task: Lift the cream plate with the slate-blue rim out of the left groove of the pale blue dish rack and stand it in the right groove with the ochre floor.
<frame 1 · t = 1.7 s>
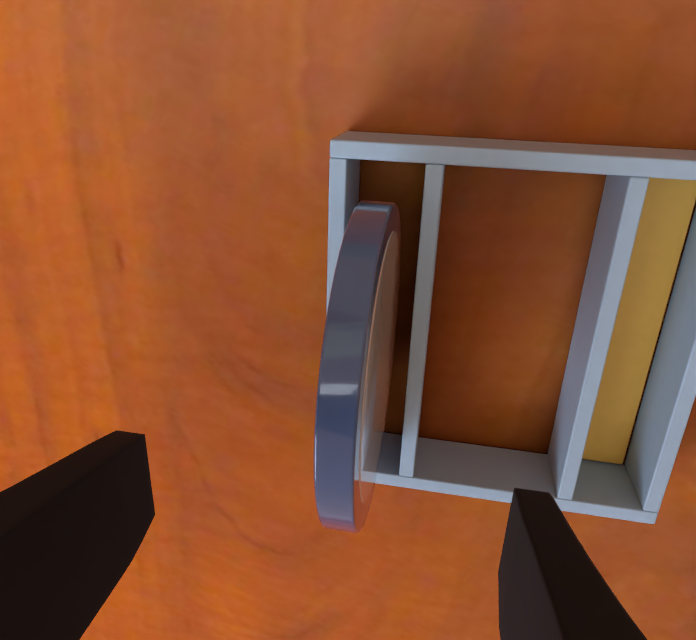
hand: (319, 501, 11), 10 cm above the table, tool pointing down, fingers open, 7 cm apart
plate: (385, 305, 20), resting in rack
rack: (501, 316, 20), on the table
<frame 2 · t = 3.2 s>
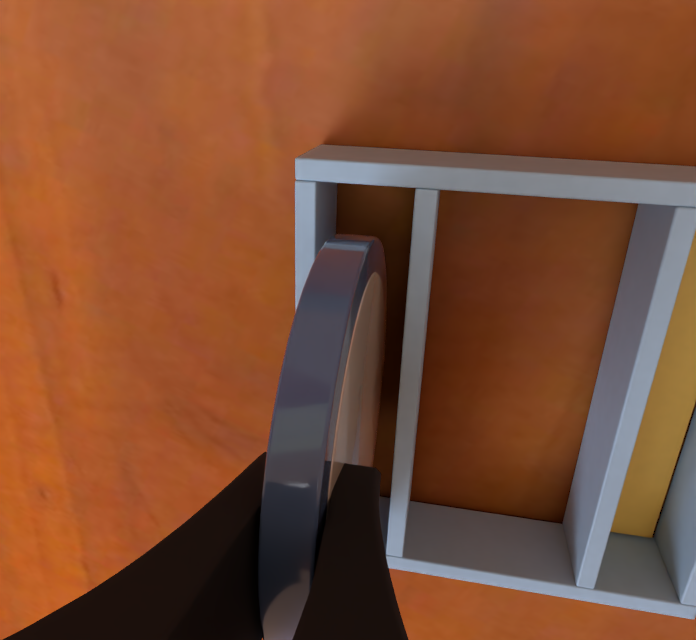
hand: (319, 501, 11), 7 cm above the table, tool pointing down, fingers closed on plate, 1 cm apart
plate: (369, 350, 17), resting in rack, touching gripper
rack: (508, 366, 17), on the table
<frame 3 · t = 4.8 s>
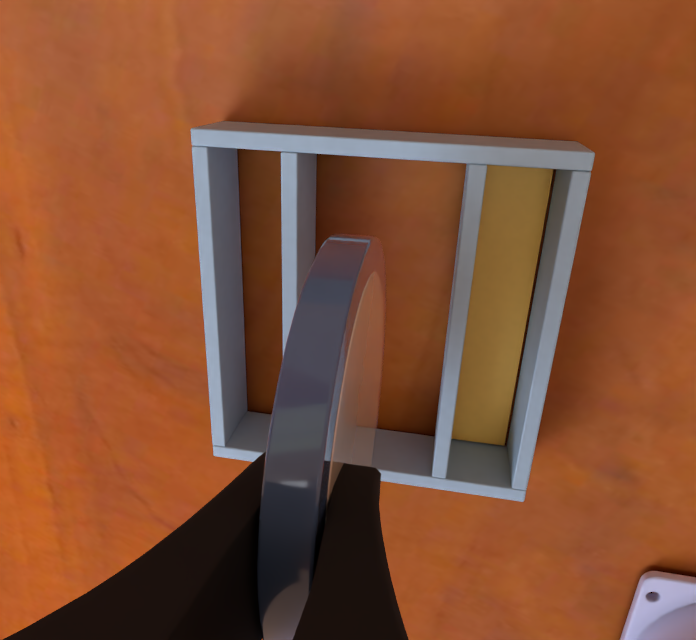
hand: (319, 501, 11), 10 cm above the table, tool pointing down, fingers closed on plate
plate: (369, 350, 17), point 4 cm above the table, touching gripper
rack: (381, 301, 20), on the table
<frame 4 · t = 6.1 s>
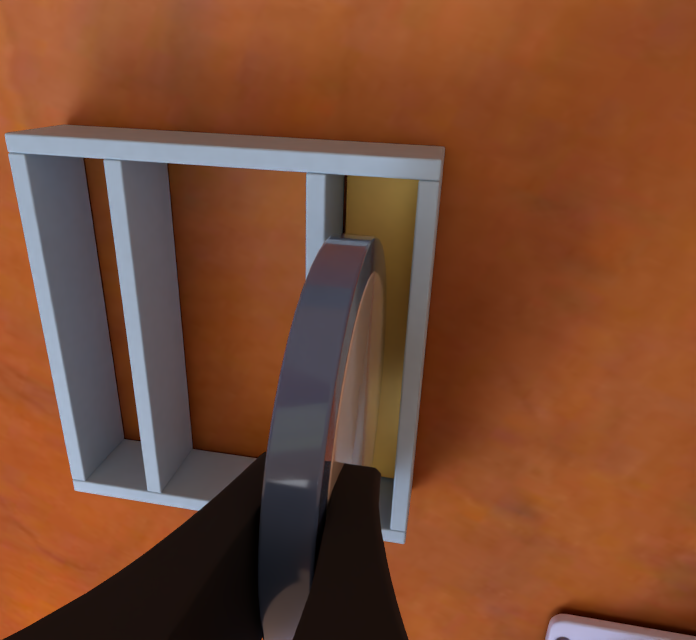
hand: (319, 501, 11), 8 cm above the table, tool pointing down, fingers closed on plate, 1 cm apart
plate: (369, 350, 17), point 1 cm above the table, touching gripper
rack: (251, 322, 19), on the table
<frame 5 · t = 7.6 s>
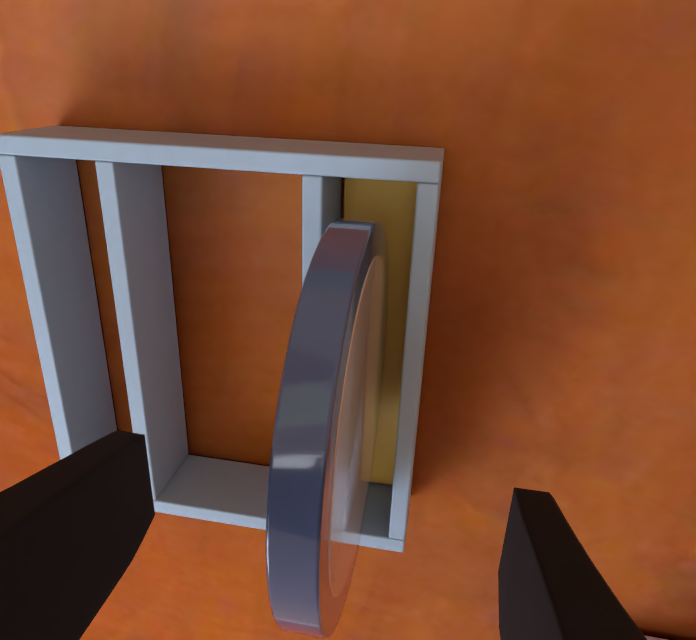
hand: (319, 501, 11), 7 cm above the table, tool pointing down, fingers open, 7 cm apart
plate: (371, 342, 18), resting on rack
rack: (247, 326, 18), on the table
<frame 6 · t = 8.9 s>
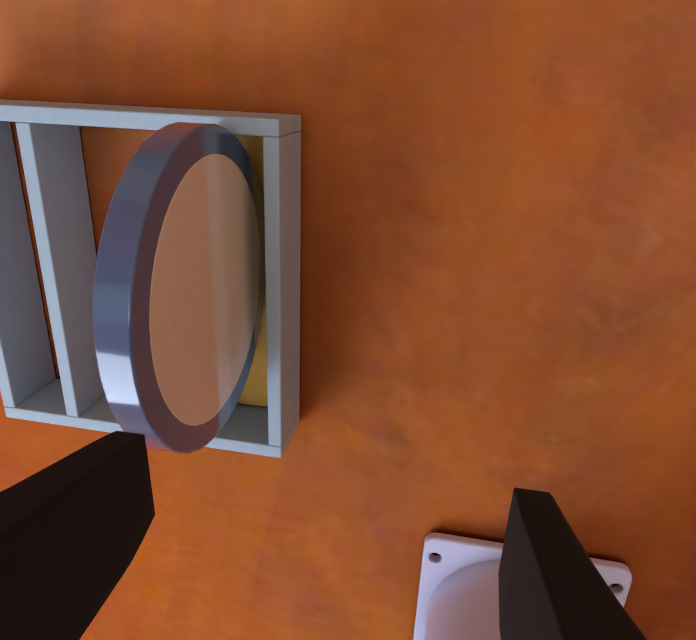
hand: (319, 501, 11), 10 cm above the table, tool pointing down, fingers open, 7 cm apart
plate: (254, 282, 21), resting on rack, tilted 16°
rack: (156, 270, 22), on the table
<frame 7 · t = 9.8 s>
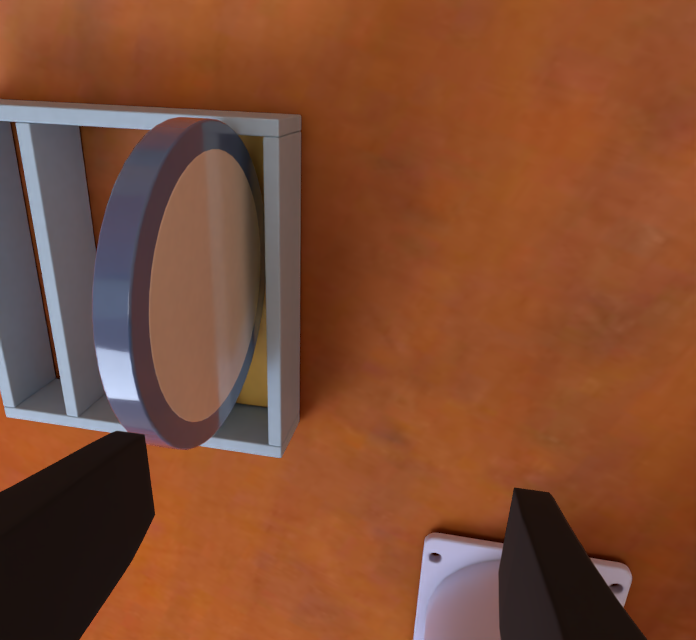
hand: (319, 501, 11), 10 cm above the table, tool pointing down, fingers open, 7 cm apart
plate: (253, 282, 21), resting on rack, tilted 17°
rack: (156, 270, 22), on the table
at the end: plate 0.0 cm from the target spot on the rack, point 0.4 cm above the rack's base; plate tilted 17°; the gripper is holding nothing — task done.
